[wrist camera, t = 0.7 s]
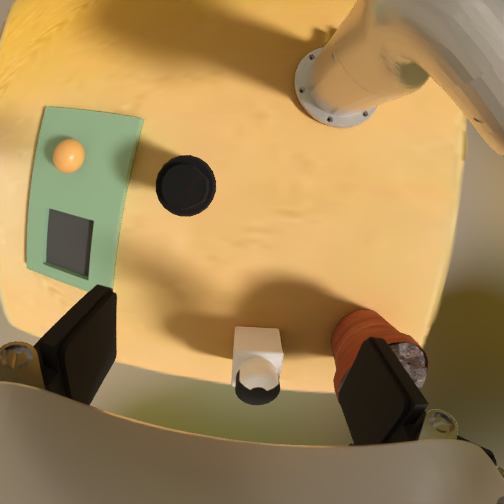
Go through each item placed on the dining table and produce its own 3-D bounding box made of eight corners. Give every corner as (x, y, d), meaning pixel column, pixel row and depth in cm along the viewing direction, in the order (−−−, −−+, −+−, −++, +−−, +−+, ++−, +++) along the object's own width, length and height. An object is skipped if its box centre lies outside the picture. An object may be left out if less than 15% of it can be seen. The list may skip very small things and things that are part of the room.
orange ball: (68, 137, 36) (50, 136, 32) (94, 141, 37) (77, 140, 32) (62, 169, 38) (43, 171, 33) (87, 175, 38) (70, 177, 33)
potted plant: (297, 354, 49) (341, 549, 16) (350, 283, 45) (478, 464, 12) (360, 381, 52) (426, 534, 18) (411, 321, 48) (523, 460, 14)
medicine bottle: (274, 362, 49) (280, 411, 38) (232, 360, 49) (229, 409, 38) (279, 327, 47) (288, 374, 36) (235, 325, 47) (232, 372, 36)
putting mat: (50, 107, 36) (45, 106, 35) (144, 119, 38) (140, 117, 36) (31, 265, 44) (26, 267, 42) (112, 294, 45) (108, 298, 44)
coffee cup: (169, 201, 41) (148, 213, 32) (177, 153, 39) (156, 151, 30) (217, 209, 42) (209, 224, 32) (226, 160, 40) (220, 159, 30)
